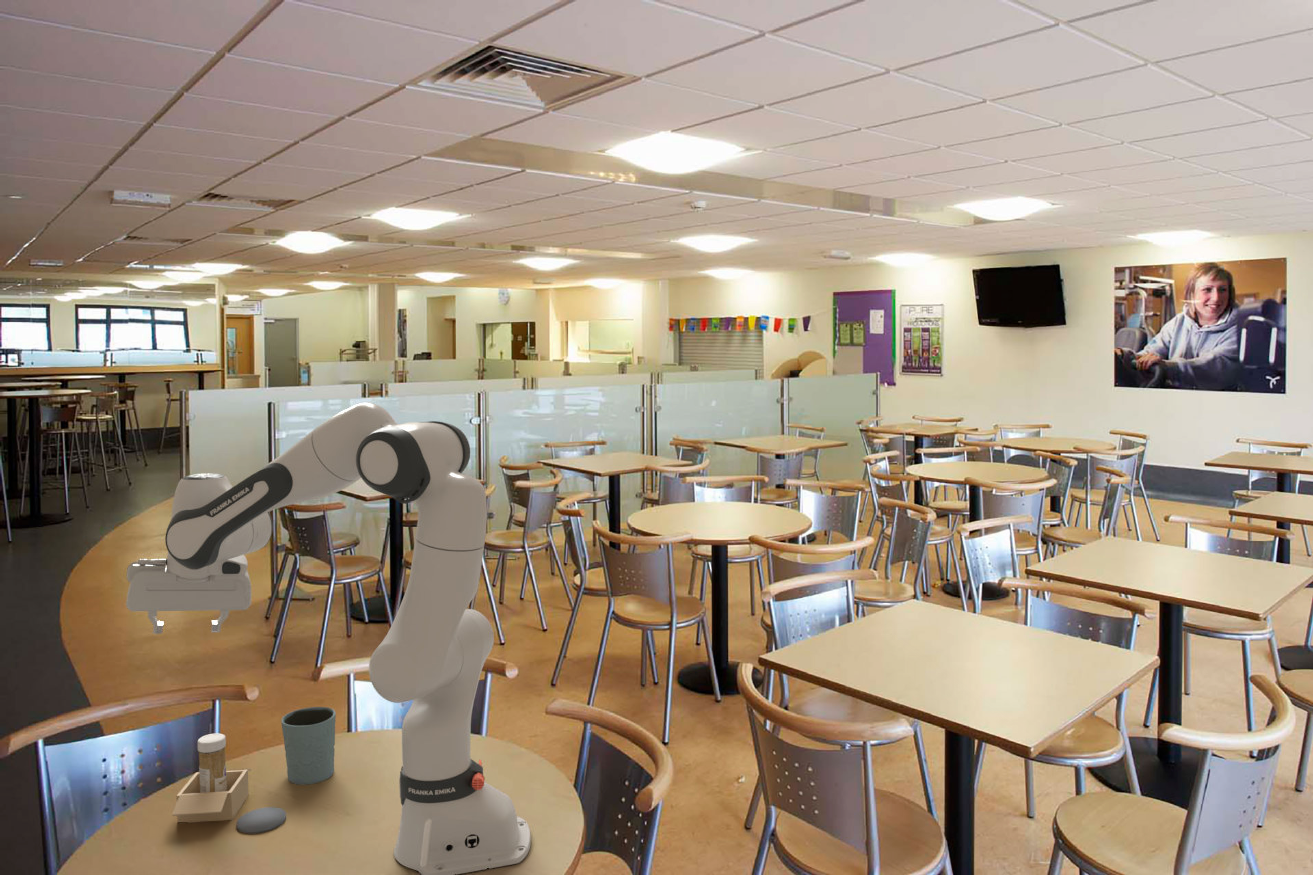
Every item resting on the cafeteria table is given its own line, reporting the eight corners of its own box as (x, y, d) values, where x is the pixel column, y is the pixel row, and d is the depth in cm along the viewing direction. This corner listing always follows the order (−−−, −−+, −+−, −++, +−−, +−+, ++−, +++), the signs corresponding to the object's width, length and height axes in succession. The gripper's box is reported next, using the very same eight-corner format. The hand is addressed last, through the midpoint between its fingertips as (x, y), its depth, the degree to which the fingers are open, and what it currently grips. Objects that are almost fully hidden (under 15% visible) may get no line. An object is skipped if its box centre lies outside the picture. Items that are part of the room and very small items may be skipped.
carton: (254, 785, 171) (253, 760, 171) (225, 830, 155) (224, 801, 154) (204, 788, 170) (203, 762, 170) (169, 833, 154) (167, 805, 153)
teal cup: (305, 790, 169) (304, 729, 168) (271, 778, 174) (269, 719, 173) (348, 770, 178) (347, 711, 177) (314, 758, 183) (312, 702, 182)
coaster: (291, 808, 162) (291, 805, 162) (279, 831, 154) (278, 828, 154) (245, 811, 161) (245, 808, 161) (230, 834, 153) (230, 831, 153)
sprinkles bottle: (229, 810, 162) (227, 738, 161) (201, 817, 159) (198, 744, 158) (226, 800, 166) (223, 730, 164) (198, 806, 163) (195, 735, 162)
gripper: (127, 564, 153) (120, 640, 155) (256, 566, 163) (248, 637, 165) (128, 553, 158) (121, 626, 160) (253, 555, 169) (245, 624, 170)
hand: (187, 631), depth 163 cm, fingers open, 8 cm apart
